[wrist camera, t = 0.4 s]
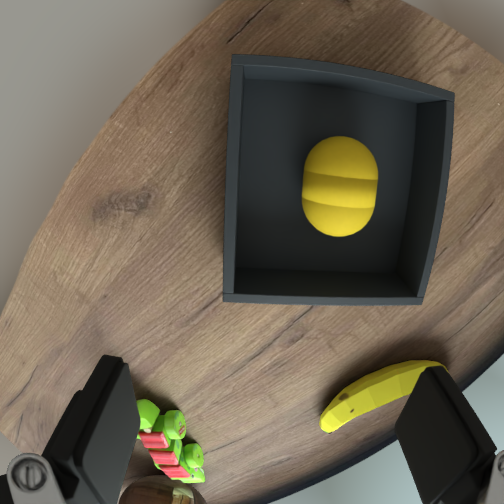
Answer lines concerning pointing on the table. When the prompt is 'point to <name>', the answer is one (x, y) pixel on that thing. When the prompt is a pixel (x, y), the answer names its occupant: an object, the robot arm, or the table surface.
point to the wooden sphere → (160, 492)
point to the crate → (291, 182)
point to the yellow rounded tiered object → (339, 186)
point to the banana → (373, 392)
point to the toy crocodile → (169, 443)
